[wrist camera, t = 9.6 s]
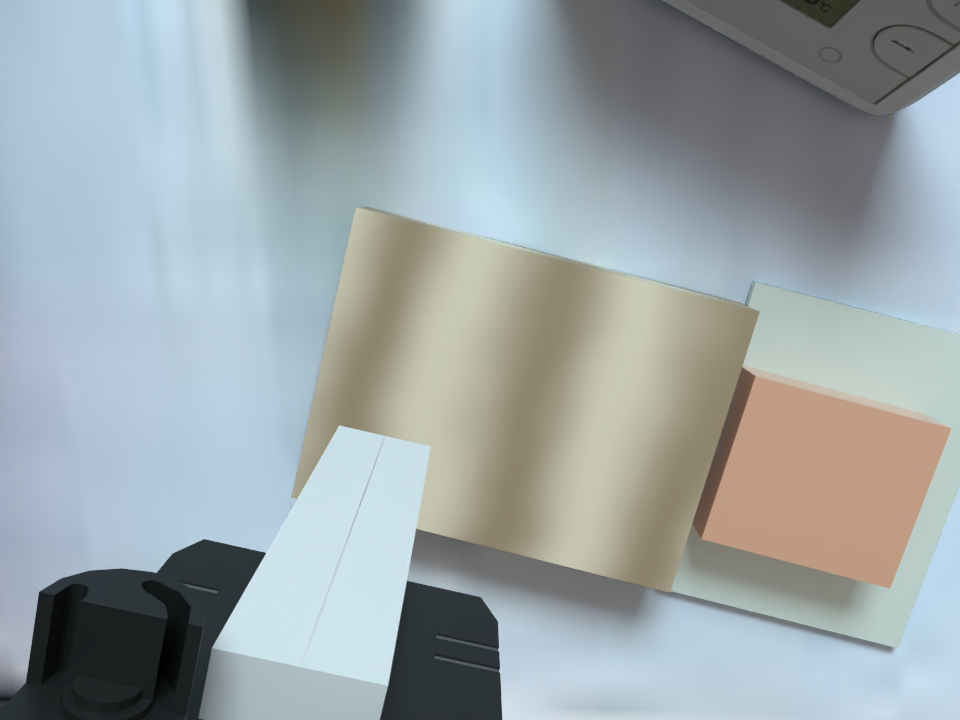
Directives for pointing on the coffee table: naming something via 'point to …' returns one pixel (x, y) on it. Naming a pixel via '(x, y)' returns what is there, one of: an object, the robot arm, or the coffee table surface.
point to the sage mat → (865, 373)
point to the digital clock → (847, 43)
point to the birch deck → (531, 392)
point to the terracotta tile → (818, 477)
